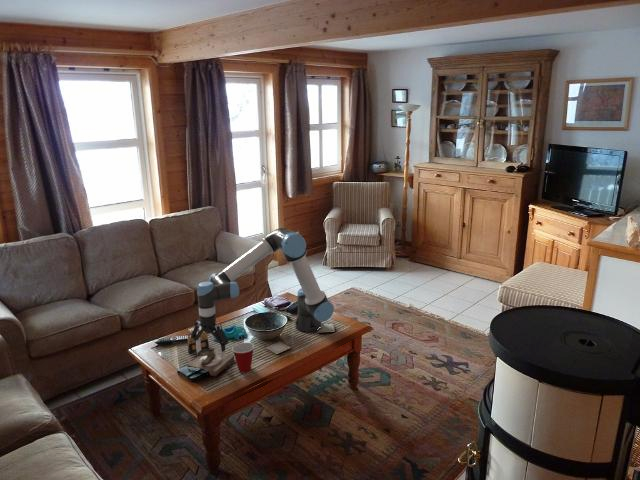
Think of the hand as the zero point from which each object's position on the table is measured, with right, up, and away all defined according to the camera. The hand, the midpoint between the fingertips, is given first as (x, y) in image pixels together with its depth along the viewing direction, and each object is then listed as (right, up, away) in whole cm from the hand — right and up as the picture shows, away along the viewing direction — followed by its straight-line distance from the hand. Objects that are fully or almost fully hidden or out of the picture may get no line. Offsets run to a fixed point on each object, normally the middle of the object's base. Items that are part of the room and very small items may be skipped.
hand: (210, 354), depth 234 cm
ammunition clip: (-10, -2, +16) cm, 19 cm away
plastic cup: (+17, -7, -3) cm, 18 cm away
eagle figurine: (-1, -3, 0) cm, 3 cm away
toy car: (+4, +2, +31) cm, 31 cm away
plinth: (0, -6, +2) cm, 6 cm away
